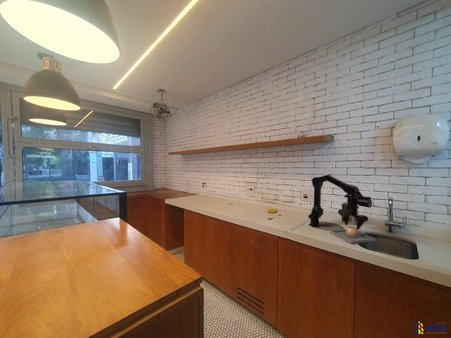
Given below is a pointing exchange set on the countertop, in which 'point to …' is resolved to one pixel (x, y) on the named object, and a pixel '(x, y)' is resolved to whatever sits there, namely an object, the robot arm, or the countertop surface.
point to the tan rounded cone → (351, 232)
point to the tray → (360, 238)
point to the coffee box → (351, 218)
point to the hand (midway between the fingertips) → (351, 227)
